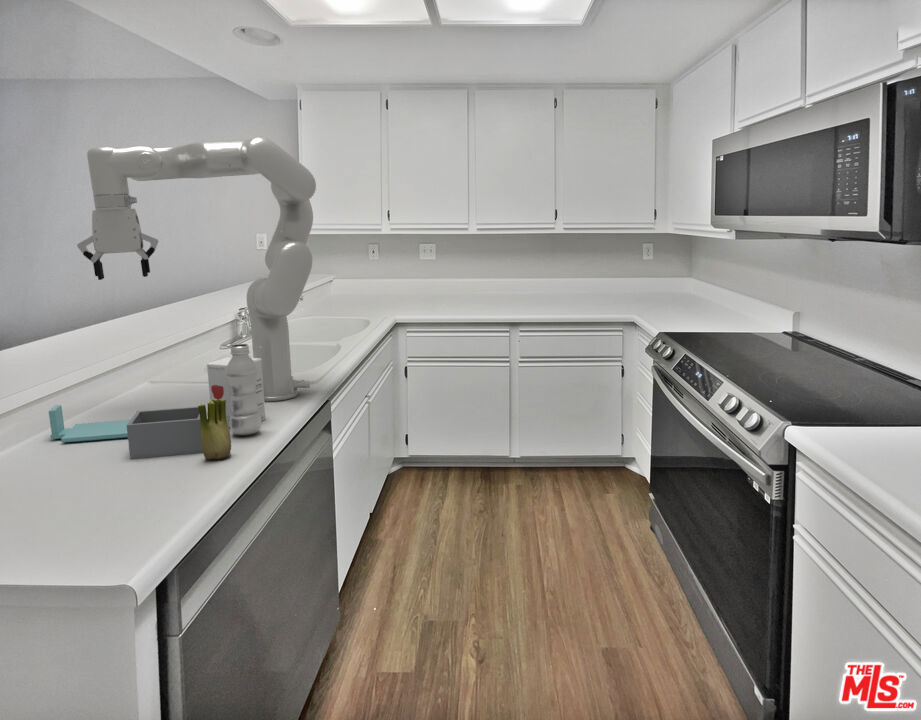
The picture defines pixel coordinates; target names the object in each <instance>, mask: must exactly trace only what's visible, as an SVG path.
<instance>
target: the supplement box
mask: <svg viewBox="0 0 921 720" xmlns="http://www.w3.org/2000/svg"><path fill="white" fill-rule="evenodd" d="M231 358H232V356H228V357H224V358H221V359H218V360H214V361H210V362H208V363H207V364H206V368H207V378H208V389H209V390H208V391H209V392H208V393H209V401H212V399H225V400H226V419H227V424H228V427H229V429H231V428H230V415H231V394H230V388H229V383H228V379H227V375H226V368H227V365H228V363H229V361H230V360H231ZM250 358H251V359H252V360H253V361H254V362H255V364H256V366H257V382H256V399H257V405H258V412H259V414H260V418H261V422H262V421H265V420H266V411H265V408H266V407H265V401H264V391H263V376H262V359H261V358H253V357H250ZM212 402H213V401H212Z"/></svg>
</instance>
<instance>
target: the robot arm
mask: <svg viewBox="0 0 921 720" xmlns="http://www.w3.org/2000/svg"><path fill="white" fill-rule="evenodd" d="M86 157H87V163H88V171H89V177H90V183H91V189H92V196H93V202H94V209H95V210H92V215H91V226H92V227H91V231H92V235H91V236H89V237H88V238H85V239H84V240H82V241H81V242H78V244H77V248H78V249H79V251H80V252H81V253H82V255H83V256H84V257H85V258H87V260H89V261H90V262H91V263H92V265H93V270H94V276H95V277H97V278H98V279H97V280H99V281H101V280H103V279H105V274H104V267H103V262H102V261H101V258H103V255H104V254H106V255H107V254H123V253H134V252H135V253H136V254H138V256H140V258H141V260H140V267H141V274H142V277H143V278H146V277H148V276H149V274H150V273H151V269H150V268H151V267H150V262H149V260H150V258H151V256H153V254H154V253H155V251H156V249H157V247H158V244H159V239H157V238H155V237H152V236H150V235H148V234H145V233H143V232H142V229H141V224H140V220H139V217H138V213H137V210H136V208H132V205H134V204H137V203H138V199H137V197H135V196H131V194H130V191H129V190H130V189H129V183H128V178H130V179H131V180H134V181H137V182H147V181H149V182H151V181H163V180H176V179H177V180H179V179H206V178H208V179H209V178H210V179H211V178H222V177H236V176H238V177H240V176H253V175H259V174H260V175H261V176H263V177H264V178H265V179H266V180H268V182H270V183H271V184H270V189H271V192H272V194H273V197H274V198H275V199H276V200H277V203H278V205H279V219H278V223H277V225H276V228H275V231H274V233H273V235H272V238H271V240H270V243H269V245H268V247H267V250H266V252H265V254H264V255H265V256H264V261H265V265H266V267H267V268H268V270H269V274H268V277H260V278H257V279H256V280H254V281H253V282H252V283H251V284H250V285H249V287H248V288H247V291H246V306H247V311H248V315H249V321H250V322H249V323H250V330H251V331H250V332H251V344H252V345H251V346H252V358H261V359H262V376H263V391H264V402H277V401H284V400H285V401H286V400H290V399H293V398H295V397H297V396H299V389H302V388H303V389H308V388H310V387H311V386H310V380H304V379H299V380H297V379H294V376H293V375H292V365H291V363H292V362H291V361H292V360H291V347H290V333H289V332H290V331H289V329H290V328H289V323H288V316H289V315H290V314H292V312H293V311H295V309H296V307H297V305H298V304H299V301H300V299H301V296H302V294H303V292H304V289H305V287H306V284H307V282H308V279H309V276H310V274H311V271H312V267H313V255H312V254H313V253H312V252H311V249H310V248H309V247H308V246H307V243H308V239H309V238H310V237H309V236H310V234H311V232H312V228H313V223H314V213H313V212H314V211H313V207H312V203H311V201H310V199H312V197H313V196H314V195H315V193H316V191H317V182H316V180H315V177H314V175H313V174H312V172H311V171H310V170H309V169H308V168H306V166H305V165H303V164H302V163H301V162H299V161H298V160H296V158H295V157H293V156H292V155H290V154H289V153H288V151H286V150H284V149H283V148H282V147H281V146H280V145H278V144H277V143H276V142H274V141H273V140H271V139H269V138H267V137H264V136H255V137H252V138H250V139H248V138H247V139H232V140H206V141H205V140H204V141H196V142H192V143H187V144H185V145H179V146H172V147H171V146H170V147H160V148H153V147H151V146H148V145H135V146H128V147H113V146H99V147H98V146H96V147H91V148H89V149H88V151H87V155H86ZM144 241H146V242H148V243H150V245H149V248H148V249H147V250H145V249H144ZM91 244H93V248H94V251H95V253H92V252H91V251H89V250H88V248H87V246H89V245H91Z"/></svg>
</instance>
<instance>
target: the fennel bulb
mask: <svg viewBox="0 0 921 720" xmlns="http://www.w3.org/2000/svg"><path fill="white" fill-rule="evenodd" d="M212 401H213V402H212ZM212 401H210V400H209V401H208V402H207V407H206V408H205V406H206V404H205V403H199V404H198V406H197V407H198V408H199V414H200V426H201V446H202V451H203V452H202V453H203V456H204V458H205V460H214V461H215V460H217V461H218V460H223V459H226V458H228V457H229V456H230V455H231V450H232V439H231V437H232V436H231V430H230V428H229V427H228V424H227V419H226V400H225V399H212Z"/></svg>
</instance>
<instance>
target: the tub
mask: <svg viewBox="0 0 921 720" xmlns="http://www.w3.org/2000/svg"><path fill="white" fill-rule="evenodd" d="M205 408H206V409H207V406H206V405H205ZM129 420H130V421H129V423H128V424H127V433H128V438H127V441H128V449H129V458H130V460H133V459H144V458H145V459H146V458H154V457H155V458H156V457H164V456H165V457H167V456H168V457H169V456H177V455H178V456H179V455H187V454H199V453H200V454H201V453H203V451H202V446H201V426H200V414H199V408H198V406H188V407H176V408H175V407H174V408H162V409H151V410H149V409H147V410H139V411H138V410H137V411H136V412H135V413H134V415H133V416H132V417H131V419H129Z"/></svg>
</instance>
